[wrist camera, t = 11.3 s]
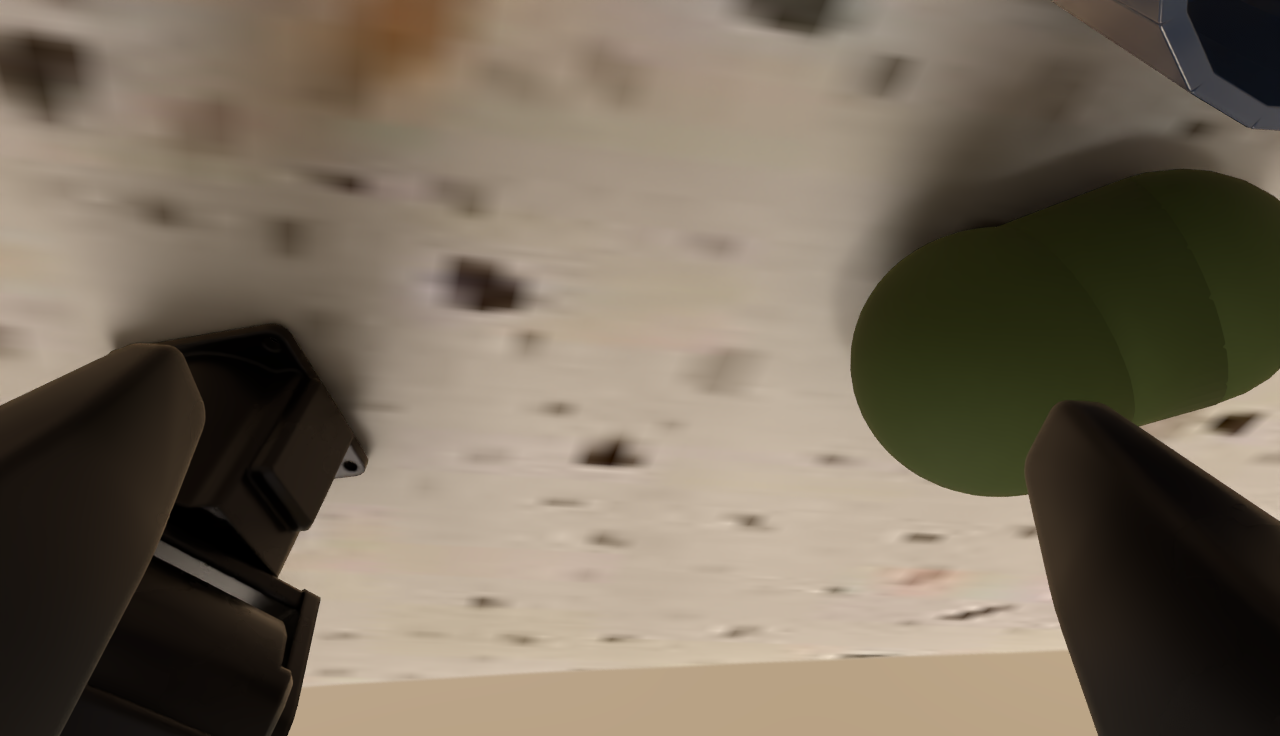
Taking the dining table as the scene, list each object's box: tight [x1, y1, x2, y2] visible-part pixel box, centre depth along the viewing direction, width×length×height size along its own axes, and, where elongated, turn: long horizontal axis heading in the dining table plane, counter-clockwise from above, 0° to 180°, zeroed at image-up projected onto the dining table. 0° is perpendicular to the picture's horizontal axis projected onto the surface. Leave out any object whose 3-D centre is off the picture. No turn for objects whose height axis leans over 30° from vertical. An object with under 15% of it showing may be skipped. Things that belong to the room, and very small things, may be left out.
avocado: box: [850, 169, 1280, 497], centre depth 19 cm, size 11×7×7 cm, turn 117°
